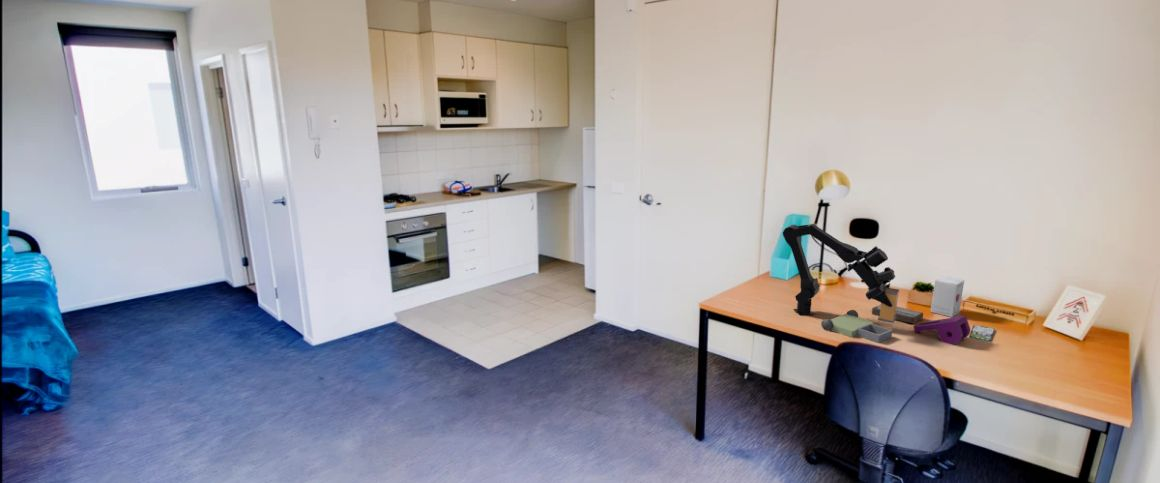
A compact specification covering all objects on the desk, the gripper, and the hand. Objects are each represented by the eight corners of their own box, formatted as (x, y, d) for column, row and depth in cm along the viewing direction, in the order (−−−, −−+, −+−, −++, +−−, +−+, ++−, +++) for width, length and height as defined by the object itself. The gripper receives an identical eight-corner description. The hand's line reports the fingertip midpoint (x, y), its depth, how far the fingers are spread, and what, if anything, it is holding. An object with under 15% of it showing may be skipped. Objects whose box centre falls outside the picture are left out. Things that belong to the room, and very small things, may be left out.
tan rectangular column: (877, 319, 248) (881, 290, 245) (880, 315, 252) (884, 286, 249) (893, 323, 245) (897, 293, 241) (896, 318, 249) (900, 289, 246)
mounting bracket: (916, 348, 246) (963, 343, 231) (909, 328, 247) (955, 321, 232) (926, 342, 251) (973, 336, 237) (919, 322, 252) (965, 315, 238)
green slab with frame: (820, 328, 251) (821, 318, 250) (848, 318, 262) (849, 308, 261) (871, 346, 234) (872, 335, 233) (898, 334, 244) (899, 324, 243)
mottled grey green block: (968, 337, 241) (973, 324, 252) (968, 339, 241) (973, 326, 252) (991, 341, 236) (995, 328, 248) (990, 344, 237) (994, 331, 248)
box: (912, 324, 253) (913, 317, 253) (871, 314, 267) (871, 307, 266) (923, 319, 260) (924, 312, 259) (882, 309, 273) (883, 302, 272)
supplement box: (952, 317, 261) (957, 284, 258) (929, 312, 268) (934, 279, 264) (960, 312, 267) (965, 279, 263) (937, 307, 274) (942, 275, 270)
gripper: (878, 268, 238) (906, 300, 234) (888, 257, 252) (914, 287, 249) (854, 283, 244) (881, 315, 241) (865, 272, 259) (890, 302, 255)
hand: (892, 304), depth 246 cm, fingers closed on tan rectangular column, 5 cm apart
